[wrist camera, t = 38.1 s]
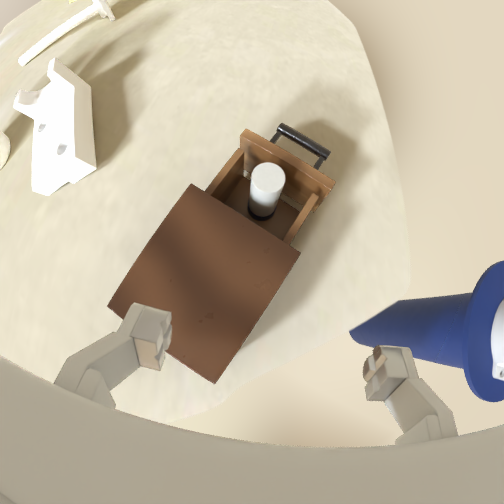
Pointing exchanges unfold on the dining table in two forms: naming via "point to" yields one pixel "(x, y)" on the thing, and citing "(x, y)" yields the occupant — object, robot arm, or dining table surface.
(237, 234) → the cabinet
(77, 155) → the white cradle stand
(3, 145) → the alcohol
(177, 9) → the dining table surface
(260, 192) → the tube
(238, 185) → the drawer
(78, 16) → the white block on rod
